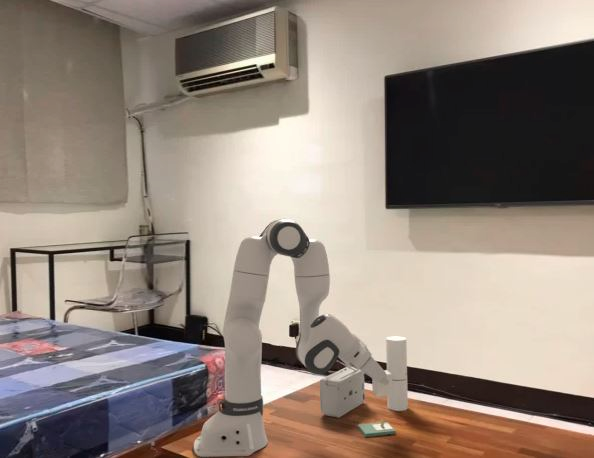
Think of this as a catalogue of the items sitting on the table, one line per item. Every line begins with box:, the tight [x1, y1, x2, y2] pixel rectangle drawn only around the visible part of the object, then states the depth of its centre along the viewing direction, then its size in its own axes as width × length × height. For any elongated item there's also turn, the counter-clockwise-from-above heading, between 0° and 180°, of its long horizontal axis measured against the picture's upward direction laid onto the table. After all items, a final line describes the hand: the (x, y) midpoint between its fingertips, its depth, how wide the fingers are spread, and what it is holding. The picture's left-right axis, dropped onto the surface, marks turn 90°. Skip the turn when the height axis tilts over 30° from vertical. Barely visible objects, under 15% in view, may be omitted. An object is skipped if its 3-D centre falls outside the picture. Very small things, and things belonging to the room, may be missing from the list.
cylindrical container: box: [385, 335, 409, 412], centre depth 197 cm, size 7×7×25 cm
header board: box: [357, 418, 397, 438], centre depth 176 cm, size 10×8×3 cm
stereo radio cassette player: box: [319, 359, 366, 419], centre depth 197 cm, size 21×8×20 cm, turn 145°
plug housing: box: [371, 368, 392, 398], centre depth 176 cm, size 5×5×8 cm
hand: (383, 380), depth 176 cm, fingers closed on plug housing, 5 cm apart
